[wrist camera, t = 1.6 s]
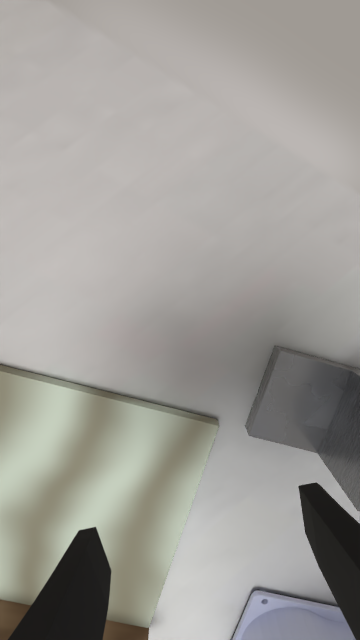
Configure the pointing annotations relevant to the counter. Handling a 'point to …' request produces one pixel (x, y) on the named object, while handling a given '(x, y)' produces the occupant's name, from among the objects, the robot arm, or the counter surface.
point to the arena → (93, 491)
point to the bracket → (312, 412)
